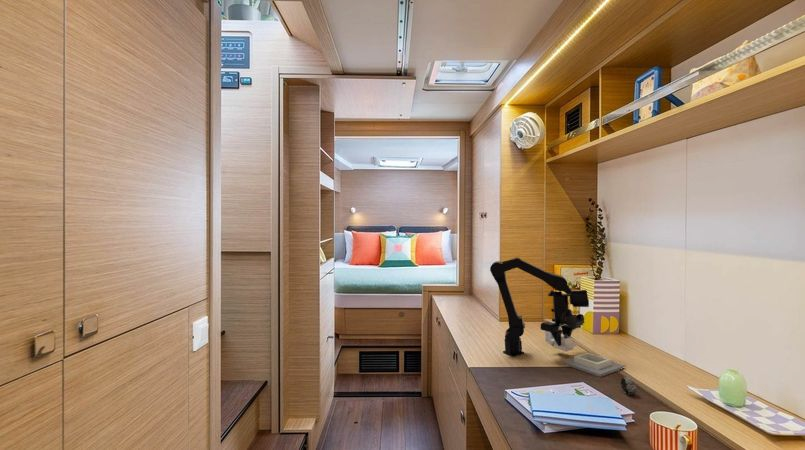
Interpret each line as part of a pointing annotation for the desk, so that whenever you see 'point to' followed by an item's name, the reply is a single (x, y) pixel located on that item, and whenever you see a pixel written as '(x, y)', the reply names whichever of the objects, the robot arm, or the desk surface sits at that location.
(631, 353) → the desk surface
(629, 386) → the dark grey lumpy piece
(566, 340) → the servo block
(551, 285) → the robot arm
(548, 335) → the medicine box
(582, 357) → the plate
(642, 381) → the desk surface
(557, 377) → the desk surface
